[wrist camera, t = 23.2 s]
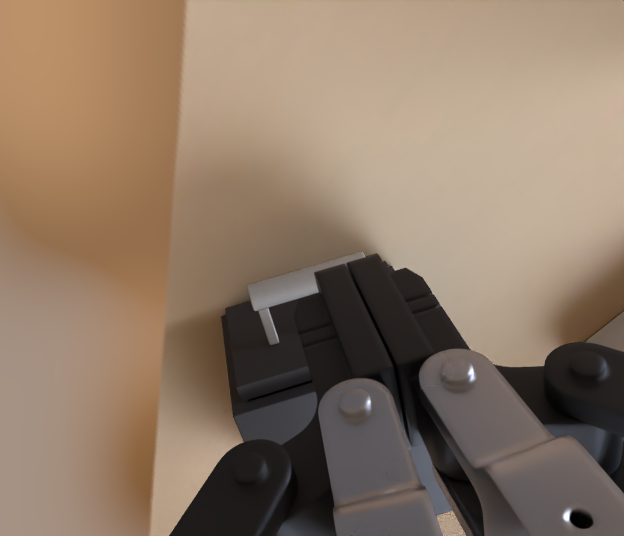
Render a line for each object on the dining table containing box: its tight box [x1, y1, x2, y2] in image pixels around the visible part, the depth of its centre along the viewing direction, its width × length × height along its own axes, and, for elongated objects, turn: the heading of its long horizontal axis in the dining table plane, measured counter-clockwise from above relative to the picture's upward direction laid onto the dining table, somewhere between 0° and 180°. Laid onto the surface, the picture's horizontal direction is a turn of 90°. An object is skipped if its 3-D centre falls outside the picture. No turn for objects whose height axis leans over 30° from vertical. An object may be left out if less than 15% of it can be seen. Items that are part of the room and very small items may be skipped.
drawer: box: [226, 251, 391, 401], centre depth 40 cm, size 19×11×8 cm, turn 12°
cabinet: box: [221, 266, 452, 516], centre depth 42 cm, size 16×13×10 cm
